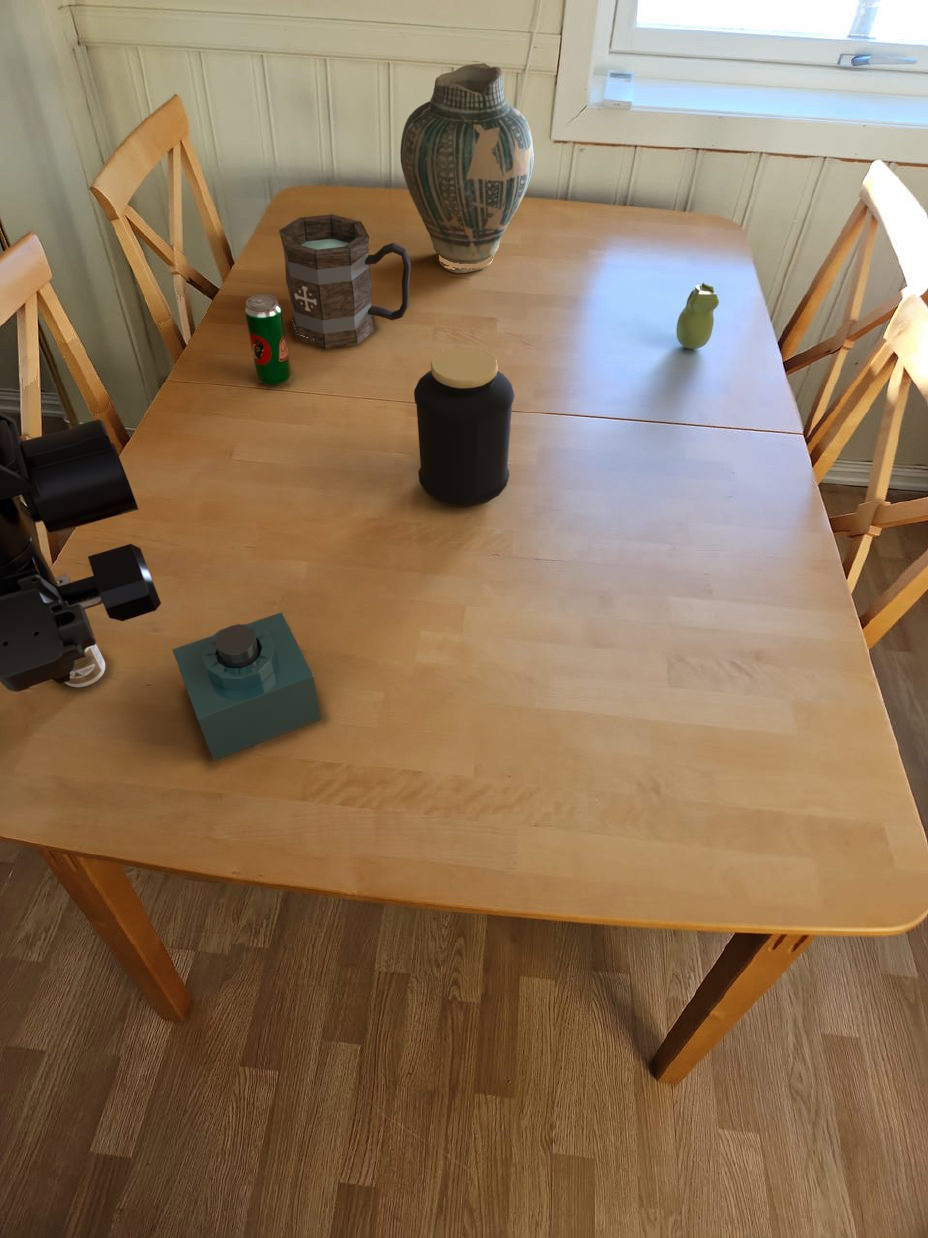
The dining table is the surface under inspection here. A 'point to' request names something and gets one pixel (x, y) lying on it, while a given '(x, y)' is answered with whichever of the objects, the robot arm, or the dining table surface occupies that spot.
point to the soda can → (268, 339)
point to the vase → (467, 163)
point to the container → (464, 427)
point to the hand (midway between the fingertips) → (64, 678)
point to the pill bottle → (87, 668)
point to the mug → (334, 280)
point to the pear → (697, 317)
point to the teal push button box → (249, 689)
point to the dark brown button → (237, 646)
